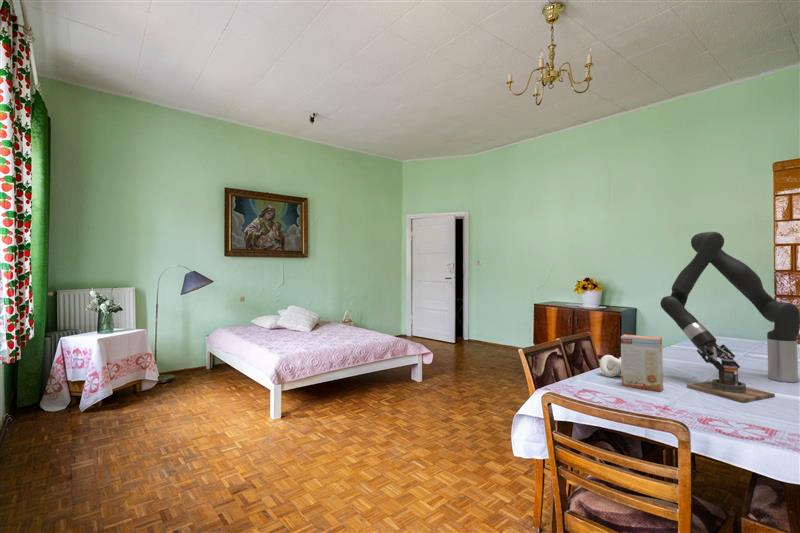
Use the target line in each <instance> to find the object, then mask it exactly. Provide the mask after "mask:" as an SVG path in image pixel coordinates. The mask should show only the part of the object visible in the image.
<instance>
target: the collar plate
mask: <svg viewBox="0 0 800 533" xmlns="http://www.w3.org/2000/svg"><path fill="white" fill-rule="evenodd" d="M686 388H688V389H691V390H695V391H697V392H698V391H699V392H702V393H705V394H709V395H712V396H717V397H719V398H724V399H728V400H731V401H735V402H739V403H742V404H745V403H750V402H754V401H755V400H756V401H760V400H765V399H766V400H767V399H772V398H775V397H776V393H774V392H769V391H765V390H760V389H756V388H752V387H748V386H747V384H746V383H744V382H742V381H739V380H738V386H735V385H726V384H721V383H719V378H716V379H712V380H708V381H703V382H694V383H688V384H686Z"/></svg>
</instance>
